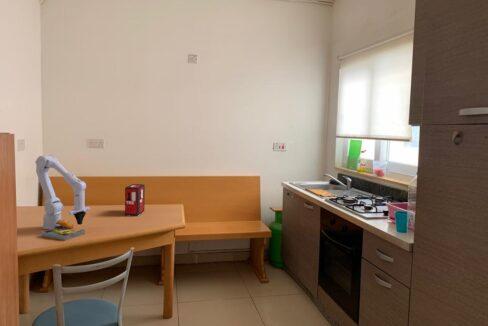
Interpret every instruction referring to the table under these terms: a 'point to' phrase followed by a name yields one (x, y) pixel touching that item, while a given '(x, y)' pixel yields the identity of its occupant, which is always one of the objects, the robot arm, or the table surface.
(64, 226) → the cheeseburger
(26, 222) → the table surface
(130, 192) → the cleaning product box
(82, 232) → the rack
